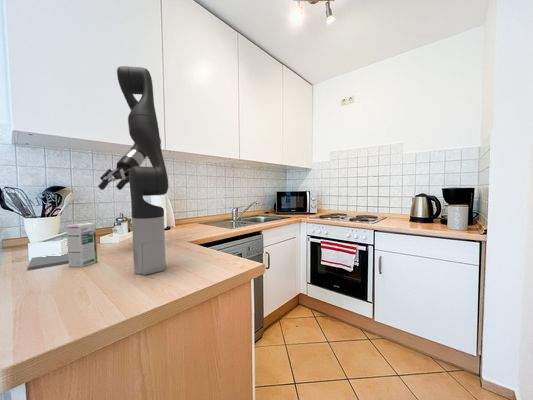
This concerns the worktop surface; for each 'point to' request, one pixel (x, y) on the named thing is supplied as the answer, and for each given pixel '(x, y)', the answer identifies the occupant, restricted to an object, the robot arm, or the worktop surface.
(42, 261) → the mat
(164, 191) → the robot arm
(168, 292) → the worktop surface
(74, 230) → the syrup box
